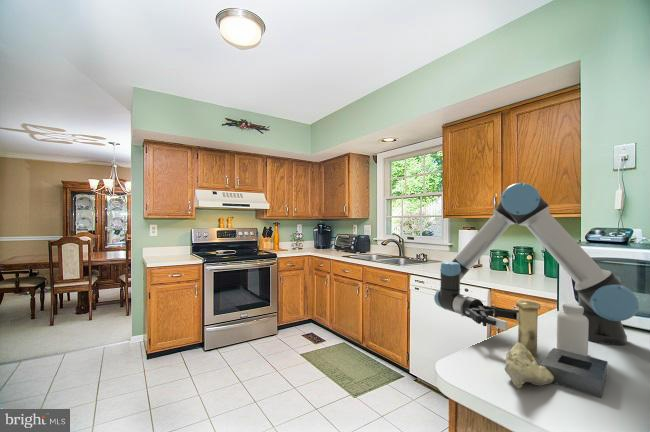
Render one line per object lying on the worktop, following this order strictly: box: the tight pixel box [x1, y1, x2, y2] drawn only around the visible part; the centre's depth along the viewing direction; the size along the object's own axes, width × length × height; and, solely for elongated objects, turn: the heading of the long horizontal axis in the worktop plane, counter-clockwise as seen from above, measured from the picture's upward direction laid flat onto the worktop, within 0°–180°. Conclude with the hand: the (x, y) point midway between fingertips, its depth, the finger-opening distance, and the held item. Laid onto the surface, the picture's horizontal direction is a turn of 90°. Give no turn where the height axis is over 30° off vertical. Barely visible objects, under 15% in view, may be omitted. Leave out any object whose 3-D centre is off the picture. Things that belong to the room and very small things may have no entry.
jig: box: [540, 347, 609, 399], centre depth 84 cm, size 16×12×4 cm
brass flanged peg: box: [515, 300, 541, 359], centre depth 99 cm, size 6×6×16 cm
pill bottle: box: [556, 303, 589, 356], centre depth 101 cm, size 8×8×15 cm
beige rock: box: [503, 341, 554, 390], centre depth 80 cm, size 15×7×15 cm
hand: (521, 324), depth 100 cm, fingers open, 13 cm apart
